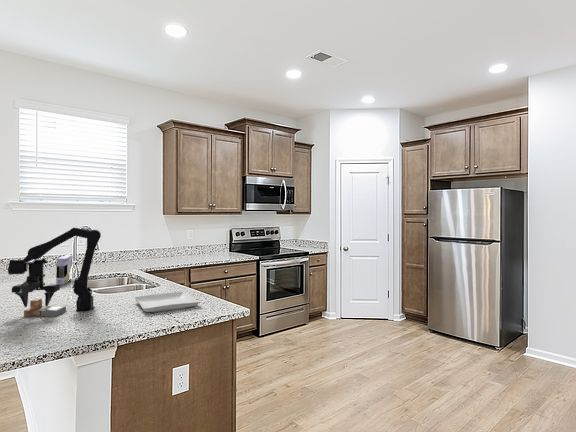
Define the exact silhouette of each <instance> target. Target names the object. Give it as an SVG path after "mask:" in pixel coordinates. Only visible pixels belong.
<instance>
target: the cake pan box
mask: <svg viewBox="0 0 576 432" xmlns="http://www.w3.org/2000/svg"><path fill="white" fill-rule="evenodd" d="M72 259H73V260H74V255H73V254H66V255H62V256H60V257H57V258H56V270H55V271H56V275H55V276H56V277H55V280H56V281H55V284H59V285H60V286H64V285H66V284H68V283H69V282H68V280H69V272H70V269H71V266H72Z"/></svg>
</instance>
